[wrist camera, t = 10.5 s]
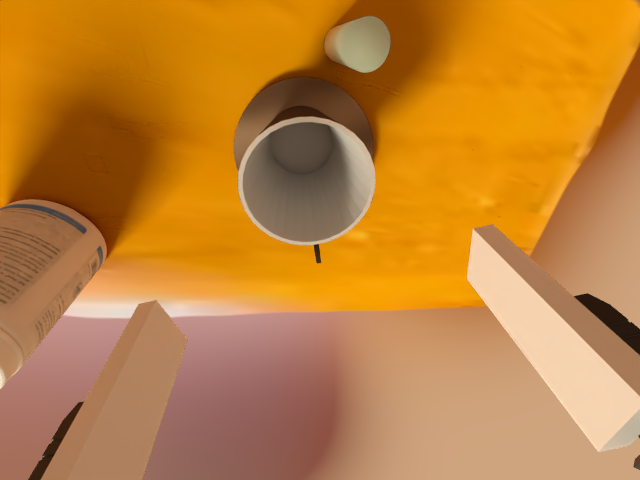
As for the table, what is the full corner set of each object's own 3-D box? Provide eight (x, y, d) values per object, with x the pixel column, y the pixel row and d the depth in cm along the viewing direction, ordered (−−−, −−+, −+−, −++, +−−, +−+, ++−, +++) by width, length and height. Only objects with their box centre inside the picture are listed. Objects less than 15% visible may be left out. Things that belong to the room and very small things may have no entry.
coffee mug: (266, 74, 23) (254, 92, 15) (363, 111, 25) (399, 144, 17) (239, 200, 29) (220, 263, 21) (319, 221, 31) (331, 284, 23)
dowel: (319, 34, 22) (337, 29, 14) (348, 20, 22) (384, 6, 14) (330, 67, 24) (352, 80, 16) (357, 54, 23) (395, 60, 15)
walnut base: (206, 115, 25) (204, 117, 24) (346, 48, 23) (348, 48, 22) (274, 229, 32) (274, 233, 31) (385, 185, 30) (387, 188, 30)
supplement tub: (-22, 210, 28) (-259, 338, 16) (67, 184, 27) (-109, 297, 15) (55, 280, 33) (-77, 415, 21) (130, 260, 33) (38, 387, 21)
